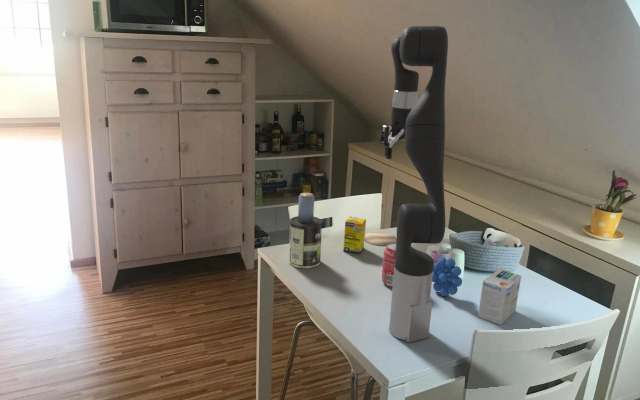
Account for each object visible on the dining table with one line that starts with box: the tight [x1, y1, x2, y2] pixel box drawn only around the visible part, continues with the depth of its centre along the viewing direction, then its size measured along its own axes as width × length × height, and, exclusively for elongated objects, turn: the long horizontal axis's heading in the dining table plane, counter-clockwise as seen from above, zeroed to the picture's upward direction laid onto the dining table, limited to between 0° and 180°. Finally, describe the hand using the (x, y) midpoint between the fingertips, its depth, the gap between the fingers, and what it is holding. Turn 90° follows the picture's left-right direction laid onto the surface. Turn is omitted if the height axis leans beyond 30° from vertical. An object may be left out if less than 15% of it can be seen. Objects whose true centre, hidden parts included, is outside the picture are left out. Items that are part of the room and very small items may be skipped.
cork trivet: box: [364, 231, 397, 247], centre depth 193 cm, size 12×12×1 cm
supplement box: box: [342, 216, 367, 255], centre depth 181 cm, size 6×6×11 cm
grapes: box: [432, 257, 463, 297], centre depth 151 cm, size 12×7×12 cm, turn 32°
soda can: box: [381, 243, 396, 288], centre depth 157 cm, size 7×7×12 cm
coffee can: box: [288, 215, 323, 269], centre depth 169 cm, size 10×10×14 cm
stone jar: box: [297, 192, 315, 223], centre depth 166 cm, size 5×5×9 cm
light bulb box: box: [477, 268, 522, 326], centre depth 142 cm, size 11×7×11 cm, turn 141°
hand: (399, 158), depth 167 cm, fingers open, 8 cm apart
